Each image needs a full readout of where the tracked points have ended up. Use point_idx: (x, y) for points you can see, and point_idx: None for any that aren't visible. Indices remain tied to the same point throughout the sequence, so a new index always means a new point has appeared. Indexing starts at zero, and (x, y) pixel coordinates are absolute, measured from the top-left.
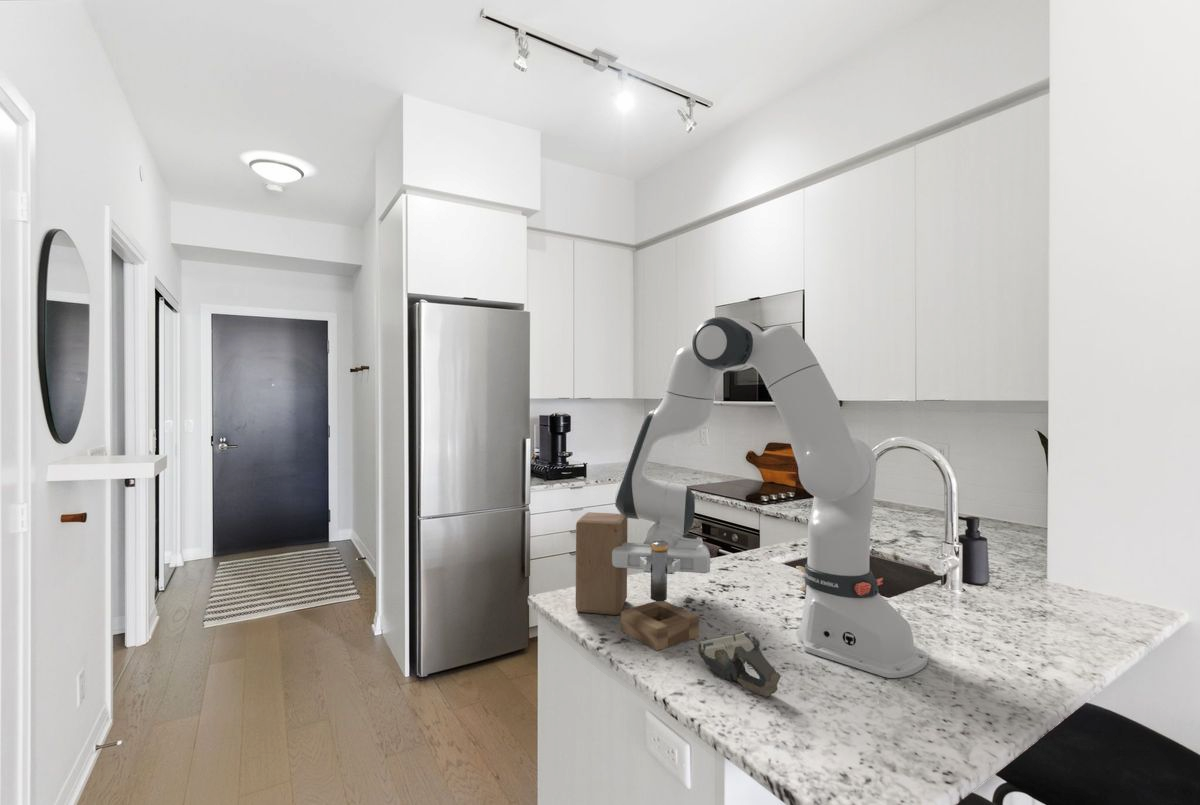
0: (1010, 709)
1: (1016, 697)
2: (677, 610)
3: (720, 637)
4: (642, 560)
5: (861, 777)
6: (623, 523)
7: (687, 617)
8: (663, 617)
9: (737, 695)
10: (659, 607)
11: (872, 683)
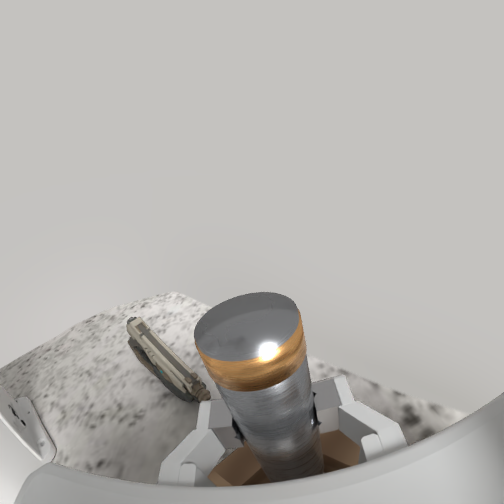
0: (6, 372)
1: None
2: None
3: (167, 350)
4: (369, 408)
5: (134, 307)
6: None
7: (216, 477)
8: None
9: (179, 357)
10: None
11: (46, 394)
